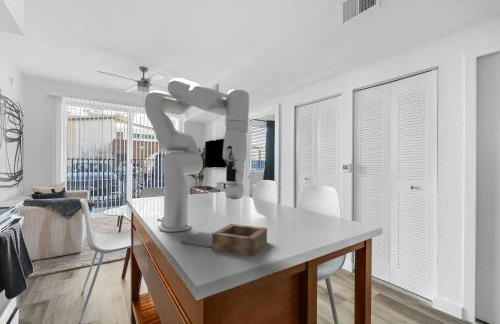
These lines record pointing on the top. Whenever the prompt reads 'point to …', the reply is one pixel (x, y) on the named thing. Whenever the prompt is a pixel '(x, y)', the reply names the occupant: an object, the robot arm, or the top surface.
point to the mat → (199, 239)
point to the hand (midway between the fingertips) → (234, 180)
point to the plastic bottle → (236, 188)
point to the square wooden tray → (239, 239)
